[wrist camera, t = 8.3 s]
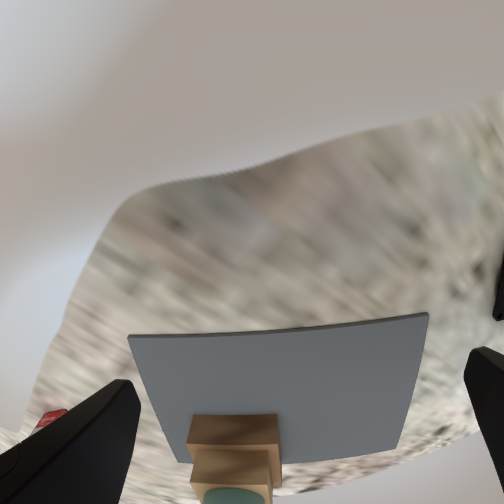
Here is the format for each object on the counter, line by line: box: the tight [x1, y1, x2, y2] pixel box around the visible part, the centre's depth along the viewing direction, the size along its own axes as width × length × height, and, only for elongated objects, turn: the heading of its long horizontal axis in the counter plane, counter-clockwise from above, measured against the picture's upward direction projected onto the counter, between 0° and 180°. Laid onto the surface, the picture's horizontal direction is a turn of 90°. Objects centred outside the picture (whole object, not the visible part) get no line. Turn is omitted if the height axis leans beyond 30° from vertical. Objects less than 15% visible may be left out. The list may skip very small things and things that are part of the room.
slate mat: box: [127, 313, 429, 464], centre depth 24 cm, size 22×16×1 cm
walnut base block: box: [186, 413, 282, 487], centre depth 24 cm, size 7×7×3 cm
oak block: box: [190, 450, 273, 504], centre depth 21 cm, size 6×6×3 cm
